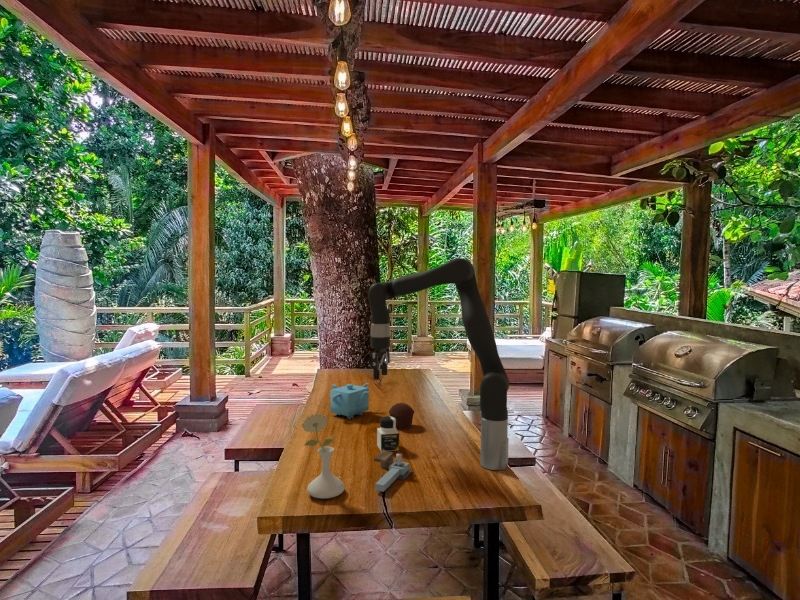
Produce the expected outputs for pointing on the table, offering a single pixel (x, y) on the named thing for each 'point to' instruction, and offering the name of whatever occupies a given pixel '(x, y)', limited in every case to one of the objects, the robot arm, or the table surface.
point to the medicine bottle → (387, 434)
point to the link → (391, 476)
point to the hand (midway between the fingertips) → (380, 377)
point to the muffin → (402, 415)
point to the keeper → (384, 459)
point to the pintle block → (399, 464)
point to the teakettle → (349, 400)
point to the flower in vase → (326, 481)
